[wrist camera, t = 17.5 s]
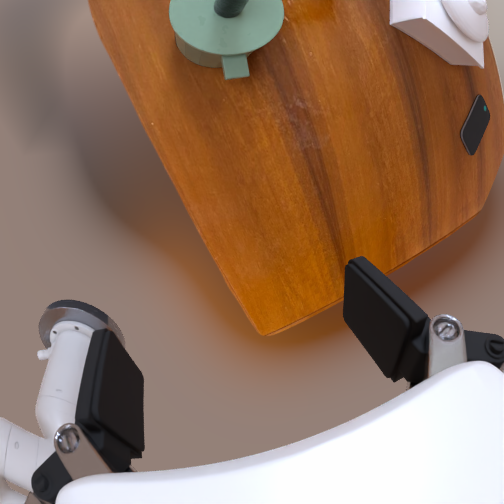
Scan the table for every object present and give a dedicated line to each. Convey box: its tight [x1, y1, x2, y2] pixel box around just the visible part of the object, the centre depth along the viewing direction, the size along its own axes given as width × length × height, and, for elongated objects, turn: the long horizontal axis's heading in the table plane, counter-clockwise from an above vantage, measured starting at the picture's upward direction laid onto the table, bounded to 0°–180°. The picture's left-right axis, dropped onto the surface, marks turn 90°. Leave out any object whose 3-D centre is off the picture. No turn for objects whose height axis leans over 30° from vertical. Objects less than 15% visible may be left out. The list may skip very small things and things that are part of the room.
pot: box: [174, 31, 253, 80], centre depth 22 cm, size 10×16×8 cm, turn 10°
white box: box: [390, 0, 489, 69], centre depth 19 cm, size 18×18×16 cm
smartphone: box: [461, 95, 490, 155], centre depth 38 cm, size 8×1×15 cm
